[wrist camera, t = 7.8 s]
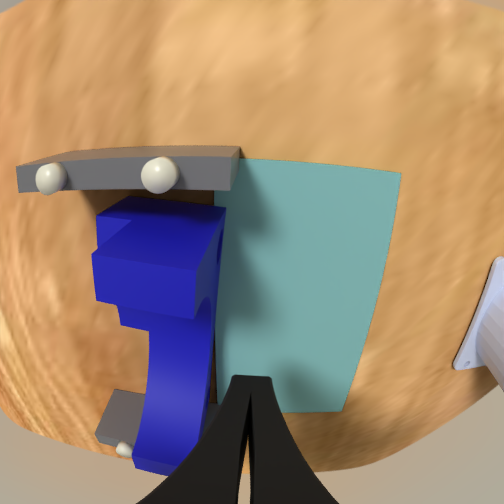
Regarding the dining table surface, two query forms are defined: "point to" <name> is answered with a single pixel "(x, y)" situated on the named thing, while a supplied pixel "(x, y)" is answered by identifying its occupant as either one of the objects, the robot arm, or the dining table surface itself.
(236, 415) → the robot arm
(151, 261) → the blue bent block
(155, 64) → the dining table surface
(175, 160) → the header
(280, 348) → the mat
